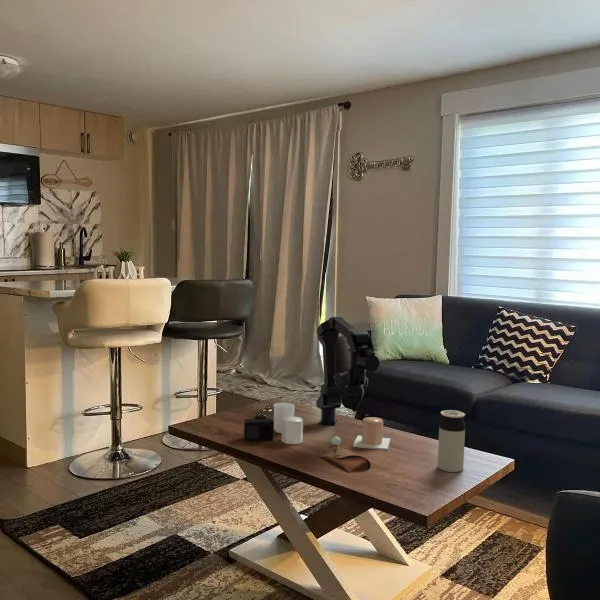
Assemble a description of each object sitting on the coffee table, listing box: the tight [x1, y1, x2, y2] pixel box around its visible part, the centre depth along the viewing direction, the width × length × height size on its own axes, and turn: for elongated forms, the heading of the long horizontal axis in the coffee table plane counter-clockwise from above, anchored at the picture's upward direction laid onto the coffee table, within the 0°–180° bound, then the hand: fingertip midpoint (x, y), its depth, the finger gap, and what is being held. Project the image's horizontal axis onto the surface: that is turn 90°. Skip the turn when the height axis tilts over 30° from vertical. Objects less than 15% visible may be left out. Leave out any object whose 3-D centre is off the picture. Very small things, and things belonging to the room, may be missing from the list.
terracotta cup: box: [361, 416, 384, 445], centre depth 217 cm, size 7×7×8 cm
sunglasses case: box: [318, 444, 371, 474], centre depth 197 cm, size 18×7×7 cm
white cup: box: [273, 402, 296, 434], centre depth 229 cm, size 8×8×10 cm
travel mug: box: [437, 409, 466, 473], centre depth 193 cm, size 8×8×18 cm
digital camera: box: [243, 418, 275, 442], centre depth 218 cm, size 10×5×7 cm, turn 97°
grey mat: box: [352, 435, 391, 451], centre depth 217 cm, size 12×12×1 cm
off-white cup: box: [281, 416, 304, 445], centre depth 217 cm, size 7×7×8 cm
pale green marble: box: [331, 435, 342, 446], centre depth 214 cm, size 3×3×3 cm
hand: (356, 408), depth 221 cm, fingers open, 9 cm apart
